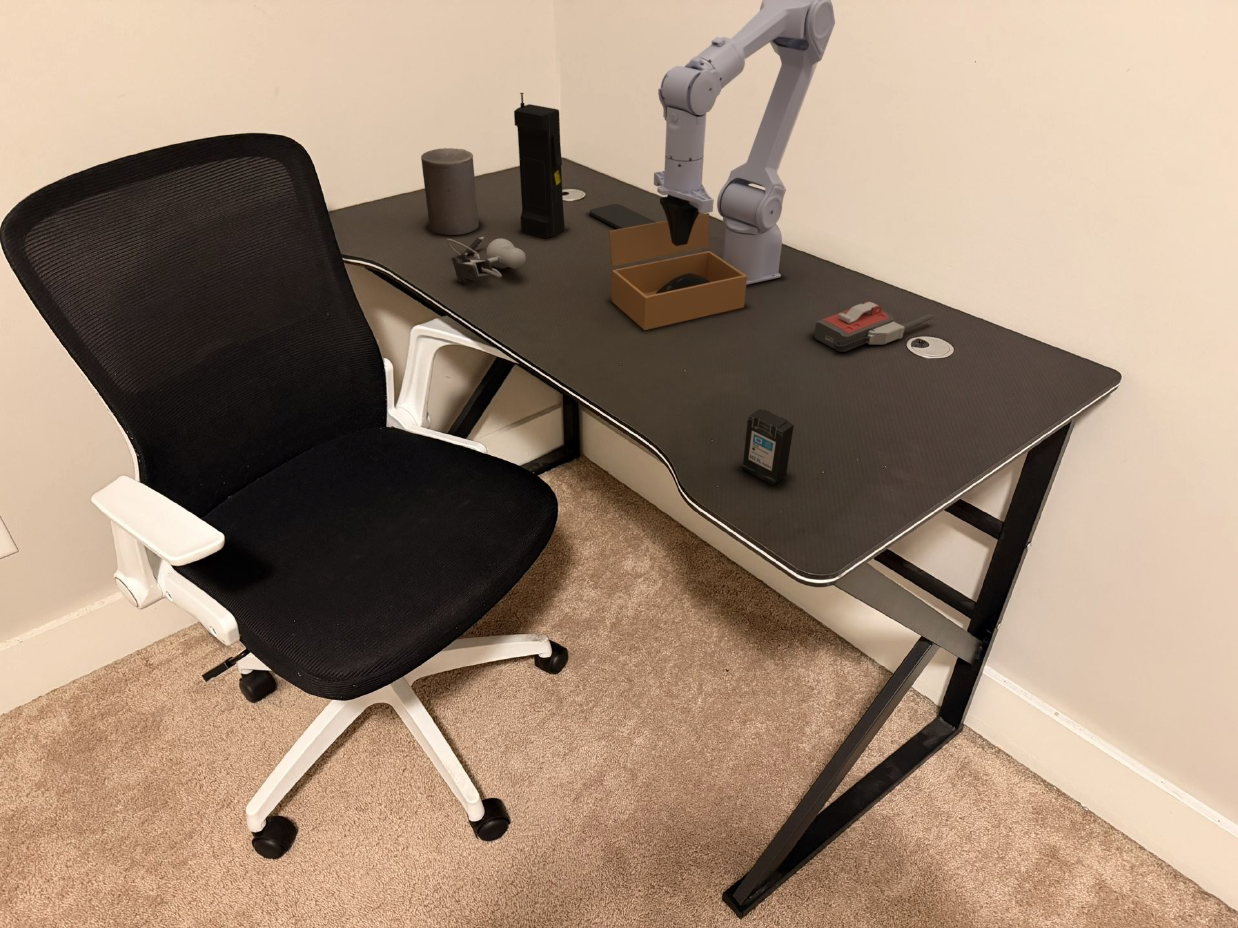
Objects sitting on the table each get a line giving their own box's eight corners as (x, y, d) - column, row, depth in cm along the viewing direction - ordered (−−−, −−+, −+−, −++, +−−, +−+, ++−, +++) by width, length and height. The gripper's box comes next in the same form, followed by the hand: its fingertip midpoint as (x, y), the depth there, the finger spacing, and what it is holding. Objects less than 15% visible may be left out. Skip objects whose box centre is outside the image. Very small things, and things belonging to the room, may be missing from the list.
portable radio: (571, 230, 168) (567, 94, 153) (552, 240, 164) (547, 101, 149) (538, 222, 171) (532, 88, 157) (519, 232, 167) (511, 95, 153)
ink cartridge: (741, 469, 106) (747, 414, 101) (752, 461, 107) (759, 406, 102) (774, 486, 103) (782, 430, 98) (785, 478, 104) (794, 423, 99)
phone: (617, 203, 178) (661, 224, 168) (617, 207, 179) (661, 228, 169) (587, 210, 175) (630, 232, 165) (587, 214, 175) (630, 236, 165)
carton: (644, 330, 135) (645, 297, 132) (611, 301, 143) (611, 270, 140) (744, 307, 142) (747, 275, 138) (707, 280, 150) (709, 250, 147)
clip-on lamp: (439, 274, 158) (473, 291, 143) (429, 240, 155) (462, 253, 140) (498, 256, 162) (536, 270, 147) (489, 222, 159) (527, 233, 145)
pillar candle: (419, 231, 167) (409, 152, 158) (446, 215, 174) (437, 138, 166) (463, 239, 164) (455, 158, 155) (488, 222, 172) (482, 144, 163)
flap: (609, 231, 137) (608, 231, 137) (612, 266, 139) (611, 266, 140) (709, 213, 144) (708, 213, 144) (709, 247, 146) (709, 247, 146)
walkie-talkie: (847, 362, 127) (935, 326, 136) (852, 335, 124) (941, 301, 134) (804, 339, 133) (891, 306, 142) (808, 313, 130) (896, 281, 140)
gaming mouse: (630, 306, 140) (631, 283, 138) (699, 284, 148) (701, 262, 145) (655, 321, 136) (655, 297, 134) (724, 297, 143) (726, 274, 141)
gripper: (637, 146, 132) (635, 232, 140) (685, 173, 121) (680, 264, 129) (677, 140, 134) (673, 225, 142) (728, 166, 124) (720, 256, 132)
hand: (679, 243), depth 136 cm, fingers closed
